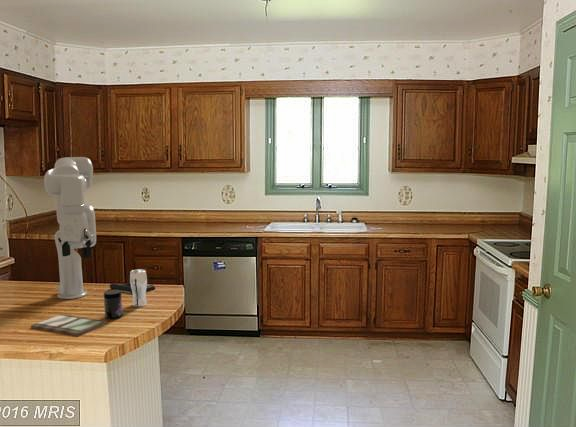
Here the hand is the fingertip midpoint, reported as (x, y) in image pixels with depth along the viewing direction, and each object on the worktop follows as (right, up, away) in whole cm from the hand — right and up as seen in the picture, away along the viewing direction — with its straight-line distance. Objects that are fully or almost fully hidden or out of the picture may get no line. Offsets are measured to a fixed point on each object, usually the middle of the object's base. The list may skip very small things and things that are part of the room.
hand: (76, 256), depth 177 cm
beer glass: (+12, -24, +35) cm, 44 cm away
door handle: (+2, -22, +61) cm, 65 cm away
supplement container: (+7, -26, +19) cm, 33 cm away
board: (-7, -27, +10) cm, 30 cm away
